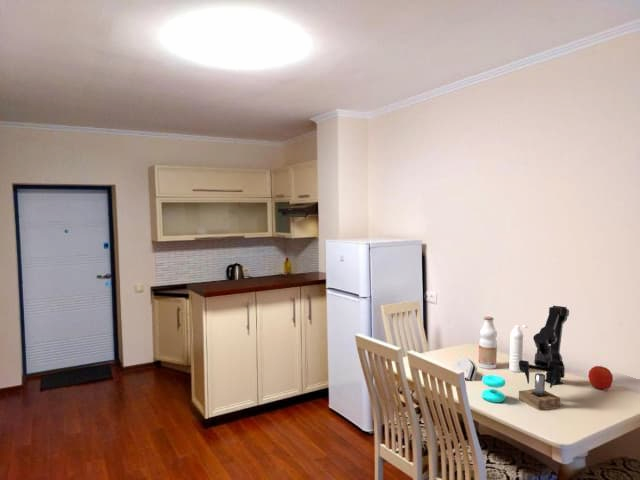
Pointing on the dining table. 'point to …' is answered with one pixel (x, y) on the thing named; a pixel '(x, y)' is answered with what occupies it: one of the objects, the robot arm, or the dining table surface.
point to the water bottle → (516, 348)
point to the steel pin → (539, 385)
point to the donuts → (493, 394)
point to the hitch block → (539, 399)
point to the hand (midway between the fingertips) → (539, 385)
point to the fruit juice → (488, 345)
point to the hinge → (467, 367)
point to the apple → (600, 377)
